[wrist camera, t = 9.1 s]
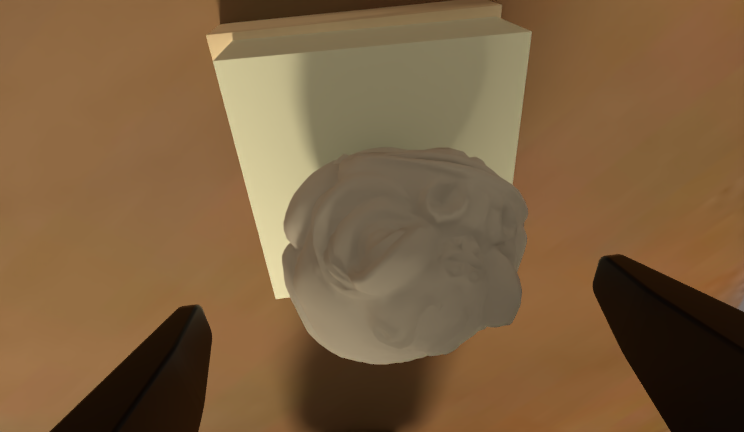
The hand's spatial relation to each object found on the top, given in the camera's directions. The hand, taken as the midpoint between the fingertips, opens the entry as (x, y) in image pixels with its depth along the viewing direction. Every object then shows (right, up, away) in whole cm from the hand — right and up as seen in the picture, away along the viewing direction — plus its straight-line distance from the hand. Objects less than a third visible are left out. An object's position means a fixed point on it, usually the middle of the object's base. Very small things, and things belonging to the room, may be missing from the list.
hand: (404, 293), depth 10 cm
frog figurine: (-1, +3, +5) cm, 6 cm away
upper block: (-1, +4, +7) cm, 9 cm away
